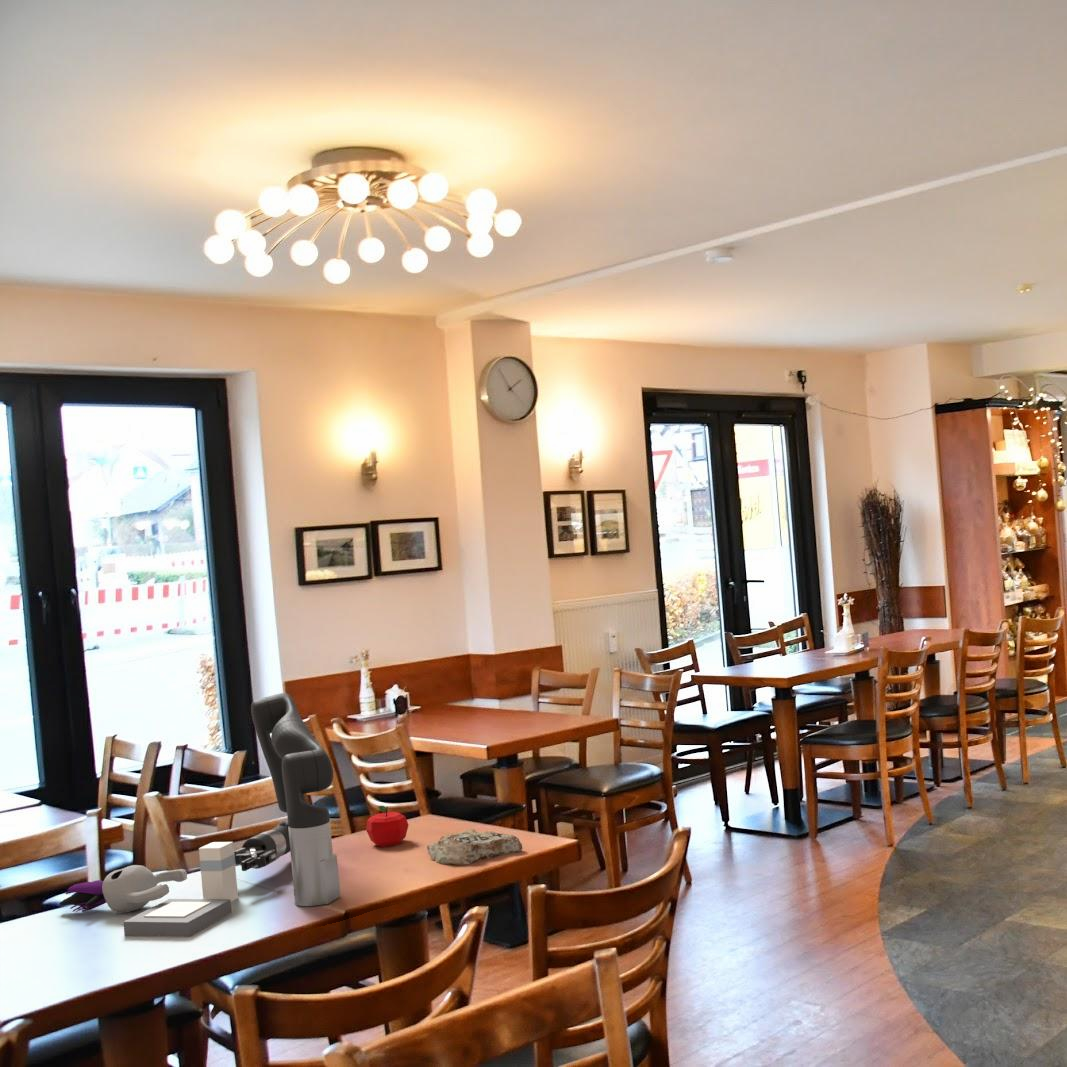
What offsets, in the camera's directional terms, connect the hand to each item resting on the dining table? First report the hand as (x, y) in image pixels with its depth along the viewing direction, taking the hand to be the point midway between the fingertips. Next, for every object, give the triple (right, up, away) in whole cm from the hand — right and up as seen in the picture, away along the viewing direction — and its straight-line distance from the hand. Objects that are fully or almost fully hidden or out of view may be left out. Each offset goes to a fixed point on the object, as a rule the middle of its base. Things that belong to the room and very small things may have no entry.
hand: (226, 866), depth 278 cm
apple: (+33, -5, +39) cm, 51 cm away
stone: (+54, -3, +22) cm, 58 cm away
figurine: (-24, -9, -3) cm, 26 cm away
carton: (0, -7, -3) cm, 8 cm away
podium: (-6, -7, -19) cm, 21 cm away
